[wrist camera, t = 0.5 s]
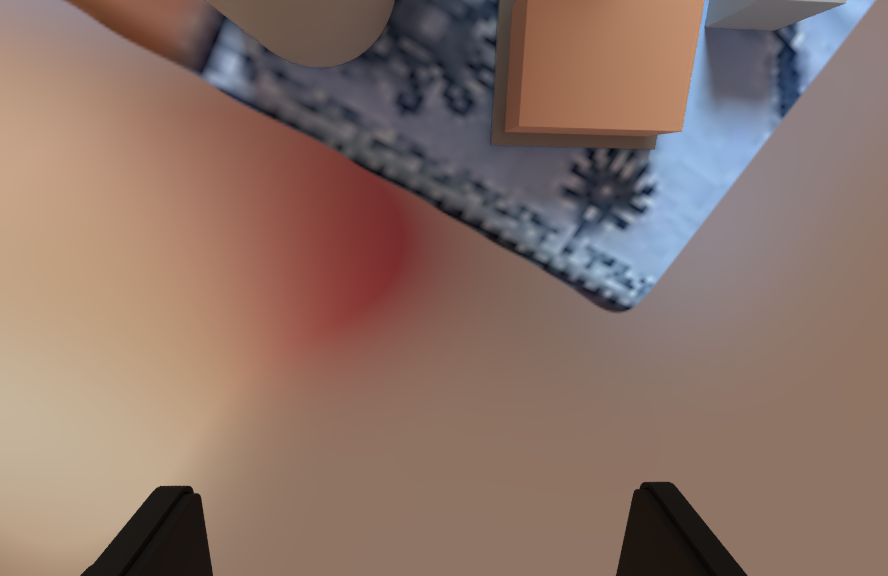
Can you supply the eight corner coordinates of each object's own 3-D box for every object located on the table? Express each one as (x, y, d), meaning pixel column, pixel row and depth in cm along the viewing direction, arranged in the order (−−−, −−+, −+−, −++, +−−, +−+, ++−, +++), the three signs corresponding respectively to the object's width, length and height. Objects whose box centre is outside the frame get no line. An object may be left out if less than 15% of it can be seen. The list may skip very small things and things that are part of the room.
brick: (504, 132, 34) (518, 126, 29) (512, 6, 31) (529, -23, 26) (645, 136, 35) (681, 131, 30) (663, 14, 32) (707, -13, 27)
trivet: (498, -5, 32) (500, -10, 31) (672, 3, 33) (678, -1, 32) (490, 145, 35) (492, 144, 34) (649, 149, 36) (654, 149, 35)
